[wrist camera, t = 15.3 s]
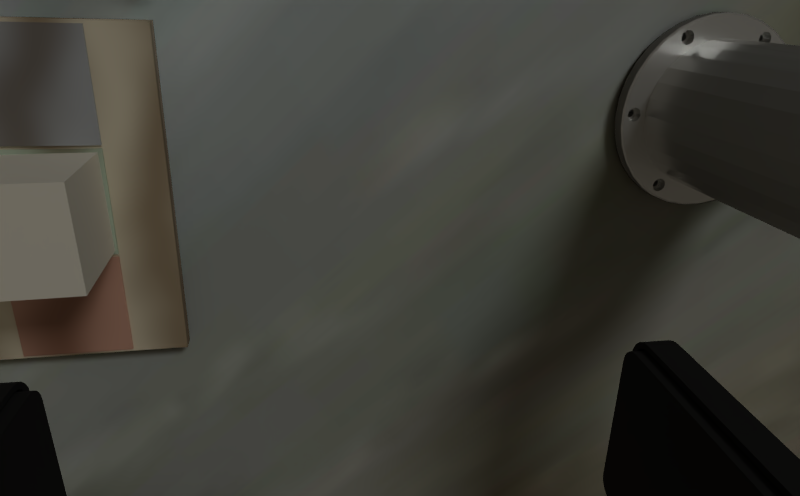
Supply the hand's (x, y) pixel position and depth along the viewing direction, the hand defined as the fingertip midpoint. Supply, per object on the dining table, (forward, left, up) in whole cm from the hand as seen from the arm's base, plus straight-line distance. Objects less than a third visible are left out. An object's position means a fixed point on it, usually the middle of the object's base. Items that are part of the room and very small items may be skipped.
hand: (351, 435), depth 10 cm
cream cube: (+14, +5, -28) cm, 32 cm away
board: (+14, +5, -29) cm, 33 cm away
